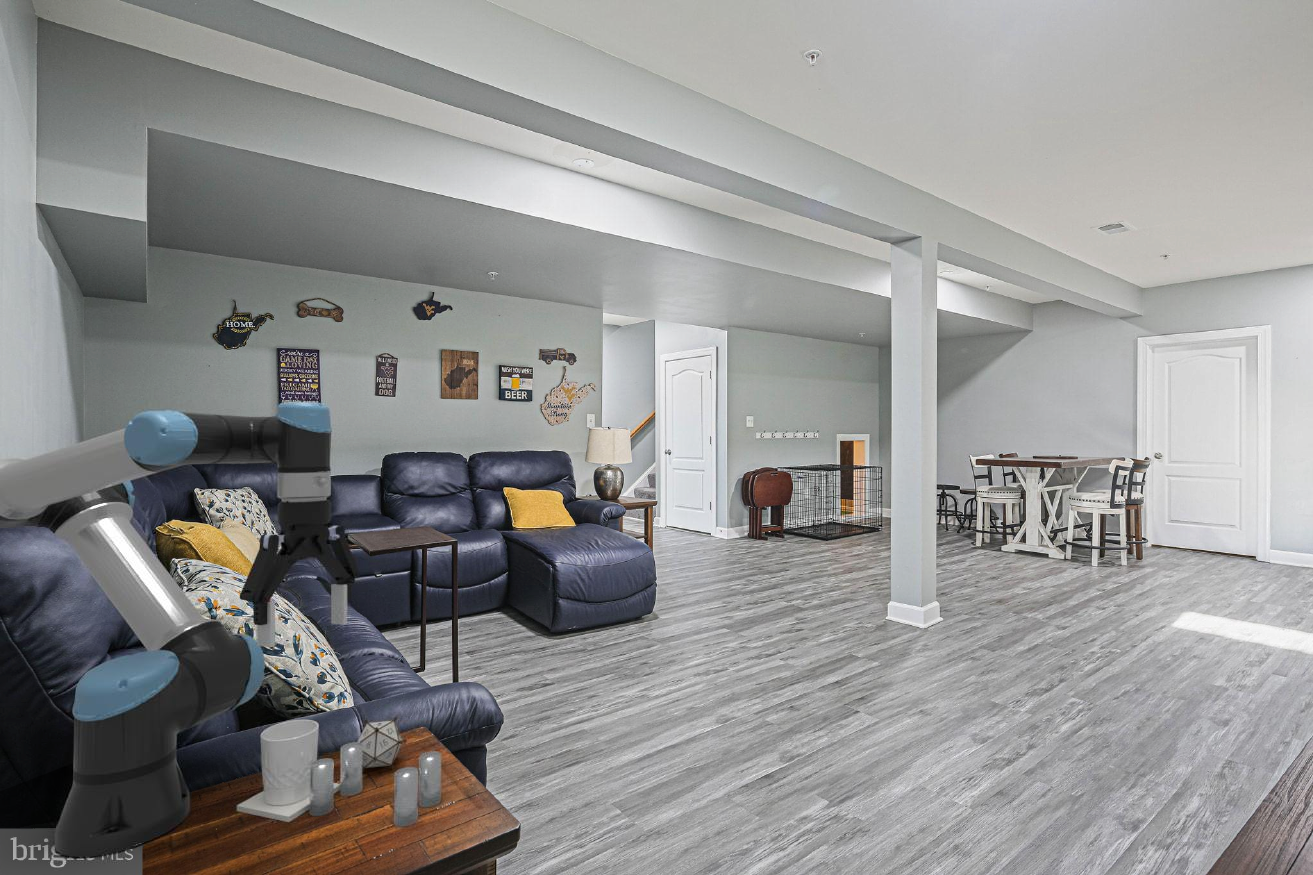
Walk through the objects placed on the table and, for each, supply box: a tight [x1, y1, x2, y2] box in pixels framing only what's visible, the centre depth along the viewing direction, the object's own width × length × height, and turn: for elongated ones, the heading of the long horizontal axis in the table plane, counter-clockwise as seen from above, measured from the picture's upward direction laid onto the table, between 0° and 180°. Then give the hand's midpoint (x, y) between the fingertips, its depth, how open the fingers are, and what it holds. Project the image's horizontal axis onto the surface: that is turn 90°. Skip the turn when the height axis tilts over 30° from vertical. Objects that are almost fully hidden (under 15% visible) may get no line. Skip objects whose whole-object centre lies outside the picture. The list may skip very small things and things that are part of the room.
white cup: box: [260, 719, 320, 806], centre depth 103 cm, size 8×8×10 cm
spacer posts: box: [308, 741, 442, 828], centre depth 101 cm, size 17×10×7 cm, turn 72°
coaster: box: [236, 782, 340, 823], centre depth 103 cm, size 10×10×1 cm
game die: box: [356, 715, 408, 773], centre depth 114 cm, size 9×8×10 cm
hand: (304, 634), depth 105 cm, fingers open, 13 cm apart
